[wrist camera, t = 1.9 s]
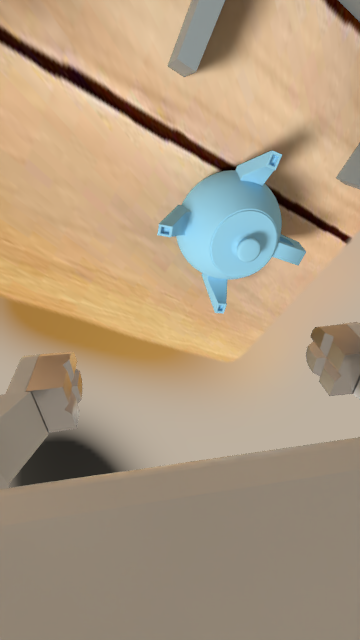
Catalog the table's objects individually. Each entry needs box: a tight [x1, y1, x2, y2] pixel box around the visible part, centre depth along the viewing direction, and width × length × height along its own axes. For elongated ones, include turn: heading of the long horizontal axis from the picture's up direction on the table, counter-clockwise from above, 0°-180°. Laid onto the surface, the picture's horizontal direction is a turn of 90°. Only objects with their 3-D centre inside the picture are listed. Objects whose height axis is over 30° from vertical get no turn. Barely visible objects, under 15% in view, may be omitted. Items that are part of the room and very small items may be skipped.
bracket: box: [168, 0, 360, 189], centre depth 32 cm, size 15×28×6 cm, turn 63°
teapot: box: [158, 150, 306, 313], centre depth 39 cm, size 15×15×11 cm
